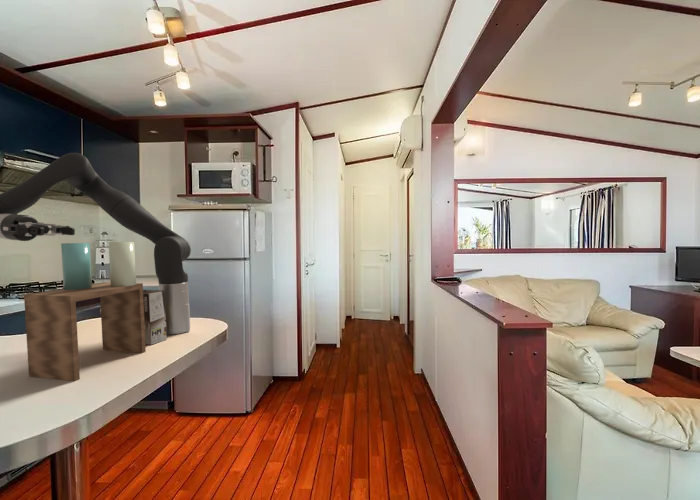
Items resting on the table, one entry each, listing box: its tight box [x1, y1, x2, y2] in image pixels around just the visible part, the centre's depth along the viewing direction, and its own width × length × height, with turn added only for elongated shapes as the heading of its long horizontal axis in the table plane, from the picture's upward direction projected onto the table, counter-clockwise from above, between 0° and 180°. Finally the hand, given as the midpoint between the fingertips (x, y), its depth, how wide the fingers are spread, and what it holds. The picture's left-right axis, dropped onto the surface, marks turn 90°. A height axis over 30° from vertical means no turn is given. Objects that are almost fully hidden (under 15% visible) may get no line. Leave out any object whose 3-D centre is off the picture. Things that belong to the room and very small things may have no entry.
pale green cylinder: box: [108, 241, 137, 287], centre depth 99 cm, size 6×6×12 cm
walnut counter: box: [23, 281, 147, 382], centre depth 94 cm, size 14×21×20 cm, turn 167°
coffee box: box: [143, 289, 168, 345], centre depth 113 cm, size 9×6×16 cm
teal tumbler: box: [60, 242, 93, 290], centre depth 94 cm, size 6×6×12 cm
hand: (58, 231), depth 100 cm, fingers open, 8 cm apart
